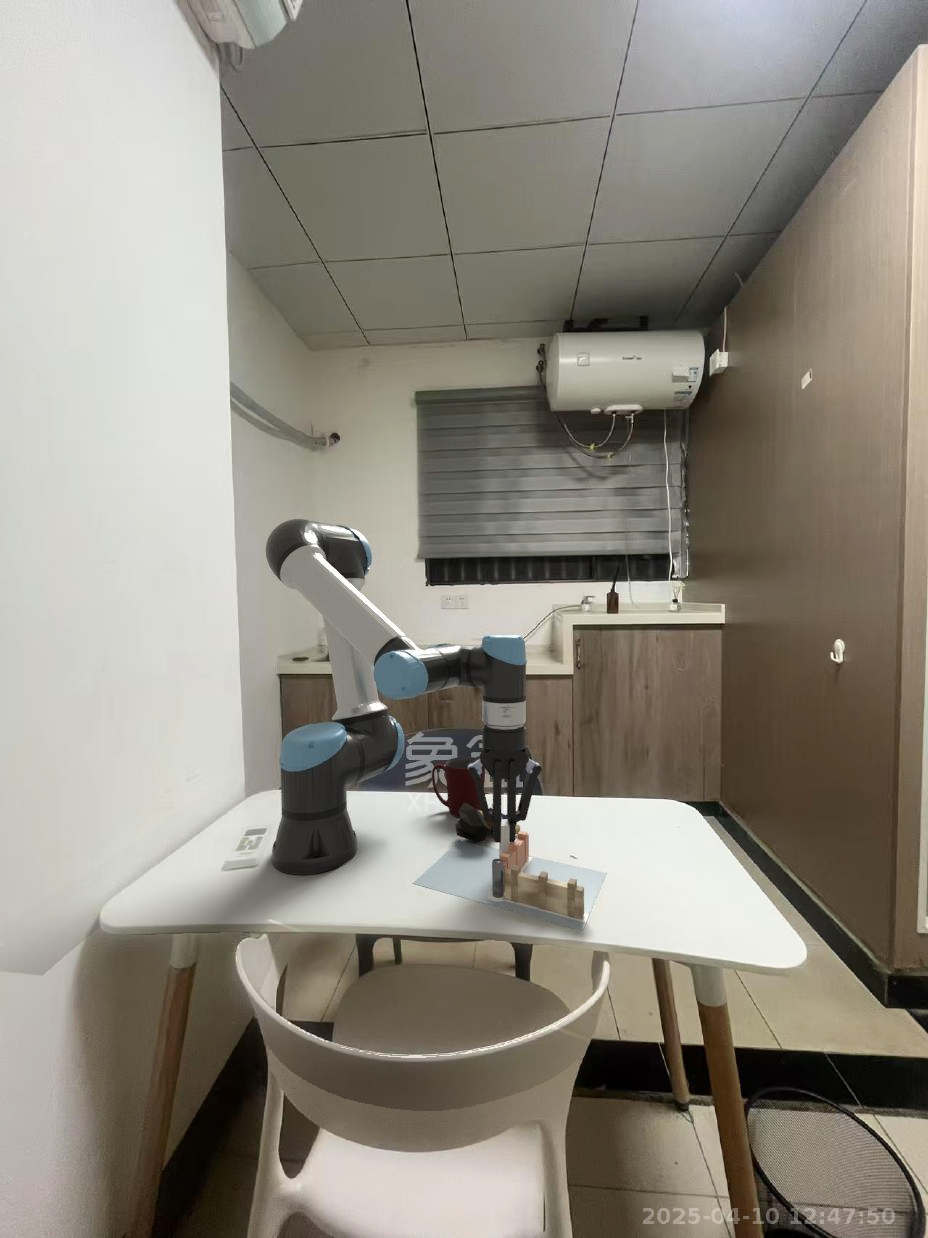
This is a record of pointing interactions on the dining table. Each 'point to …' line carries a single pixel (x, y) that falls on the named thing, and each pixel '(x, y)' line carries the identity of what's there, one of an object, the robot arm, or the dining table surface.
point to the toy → (475, 824)
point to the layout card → (472, 879)
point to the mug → (459, 784)
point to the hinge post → (497, 878)
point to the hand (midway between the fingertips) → (504, 859)
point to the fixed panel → (544, 892)
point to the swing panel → (516, 852)
